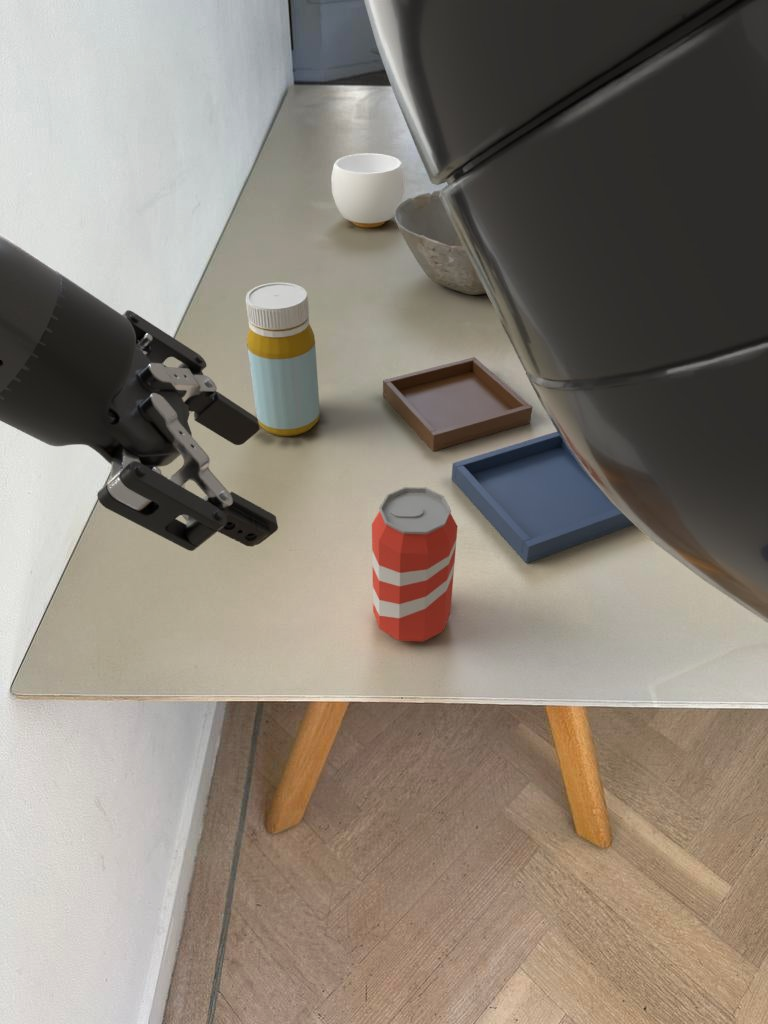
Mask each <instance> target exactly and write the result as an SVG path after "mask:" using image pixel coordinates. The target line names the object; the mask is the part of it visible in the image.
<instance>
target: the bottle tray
mask: <svg viewBox="0 0 768 1024" xmlns="http://www.w3.org/2000/svg"><path fill="white" fill-rule="evenodd" d="M382 396H383V397H384V398H385V400H386V401H387V402H388V403H389V404H390V405H391V406H392V407H393V408H394V410H395V411H396V412H397V413H398V414H399V415H400V416H401V417H402V418H403V420H404V421H405V423H407V424H408V425H409V426H410V427H411V429H412V430H413V431H415V433H416V434H417V435H418V436H419V437H420V438H421V440H422V441H423V442H424V443H425V444H426V445H427V446H428V448H429V449H430V450H431V451H432V452H435V451H439V450H442V449H445V448H446V449H447V448H449V447H452V446H456V445H460V444H463V443H466V442H470V441H473V440H476V439H477V440H478V439H480V438H483V437H487V436H490V435H493V434H497V433H500V432H503V431H507V430H511V429H514V428H518V427H521V426H524V425H528V424H530V423H531V418H532V412H533V406H532V405H530V404H529V403H528V401H526V400H524V398H522V396H520V395H519V394H518V393H517V392H516V391H515V390H513V389H512V388H511V387H510V386H509V385H507V383H505V382H504V381H503V380H502V379H500V378H499V377H498V375H496V374H495V373H494V372H492V371H491V370H490V369H489V368H488V367H487V366H486V365H484V363H482V361H480V360H479V359H477V357H475V356H473V357H470V358H466V359H462V360H456V361H454V362H450V363H445V364H442V365H437V366H434V367H430V368H426V369H421V370H418V371H413V372H410V373H407V374H403V375H398V376H394V377H390V378H387V379H383V380H382Z"/></svg>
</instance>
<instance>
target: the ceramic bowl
mask: <svg viewBox="0 0 768 1024" xmlns="http://www.w3.org/2000/svg"><path fill="white" fill-rule="evenodd" d="M441 190H442V189H441ZM441 190H434V191H433V192H432V193H430V192H425V193H421V194H418V195H416V196H413V197H409V198H407V199H406V200H404V201H402V202H401V204H400V205H399V206H398V208H397V210H396V212H395V215H394V221H395V222H396V225H397V228H398V229H399V232H400V234H401V236H402V237H403V239H404V241H405V243H406V245H407V247H408V248H409V250H410V252H411V253H412V255H413V257H414V259H415V260H416V262H417V263H418V265H419V266H420V268H421V269H422V270H423V272H424V273H425V275H426V276H427V277H428V278H429V279H430V280H431V281H433V282H434V283H435V284H437V285H440V286H442V287H444V288H448V289H450V290H454V291H455V292H459V293H463V294H466V295H470V296H471V295H472V296H477V295H484V294H486V295H487V293H486V291H485V289H484V287H483V285H482V283H481V281H480V279H479V277H478V275H477V273H476V271H475V269H474V267H473V265H472V263H471V261H470V259H469V257H468V255H467V253H466V251H465V248H464V246H463V244H462V242H461V240H460V238H459V236H458V234H457V232H456V230H455V228H454V226H453V224H452V222H451V220H450V218H449V216H448V214H447V212H446V210H445V208H444V206H443V204H442V202H441V200H440V198H439V195H440V191H441Z"/></svg>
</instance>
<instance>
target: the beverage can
mask: <svg viewBox="0 0 768 1024" xmlns="http://www.w3.org/2000/svg"><path fill="white" fill-rule="evenodd" d="M378 510H379V511H378V513H377V514H376V516H375V517H374V519H373V521H372V523H371V555H372V556H371V558H372V560H371V561H372V565H371V566H372V567H371V568H372V612H373V615H374V618H375V620H376V623H377V626H378V629H379V630H380V631H382V632H384V633H385V634H387V635H389V636H390V637H392V638H393V639H395V640H397V641H399V642H426V641H427V640H429V639H431V638H433V637H435V636H437V635H438V634H440V633H442V632H444V630H445V628H446V625H447V623H448V620H449V618H450V615H451V611H452V598H453V585H454V573H455V562H456V548H457V538H458V524H457V523H456V520H455V519H454V516H453V514H452V509H451V506H450V505H449V503H448V501H447V499H446V497H445V496H444V495H443V494H440V493H439V492H437V491H434V490H433V489H430V488H428V487H421V486H420V487H419V486H418V487H417V486H415V487H414V486H403V487H401V488H399V489H397V490H394V491H391V492H390V493H387V494H386V495H385V497H384V499H383V501H382V502H381V504H380V506H379V509H378Z"/></svg>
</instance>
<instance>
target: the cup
mask: <svg viewBox="0 0 768 1024" xmlns="http://www.w3.org/2000/svg"><path fill="white" fill-rule="evenodd" d="M330 180H331V194H332V197H333V200H334V204H335V207H336V208H337V210H338V212H339V213H340V215H341V216H342V217H343V218H344V219H346V220H347V221H349V222H352V224H353V225H355V226H356V227H359V228H377V227H380V226H383V224H385V223H386V222H388V221H390V220H391V219H393V218H395V216H394V215H395V212H396V210H397V208H398V206H399V205H400V204H401V203H402V202H403V199H404V195H405V192H406V190H405V187H406V186H405V185H406V184H405V183H406V174H405V170H404V167H403V163H402V161H401V160H400V159H399V158H398V157H394V156H392V155H389V154H383V153H372V152H371V153H370V152H366V153H364V152H363V153H354V154H350V155H345V156H344V155H343V156H342V157H340V158H337V159H336V160H335V162H334V164H333V168H332V172H331V179H330Z"/></svg>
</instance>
